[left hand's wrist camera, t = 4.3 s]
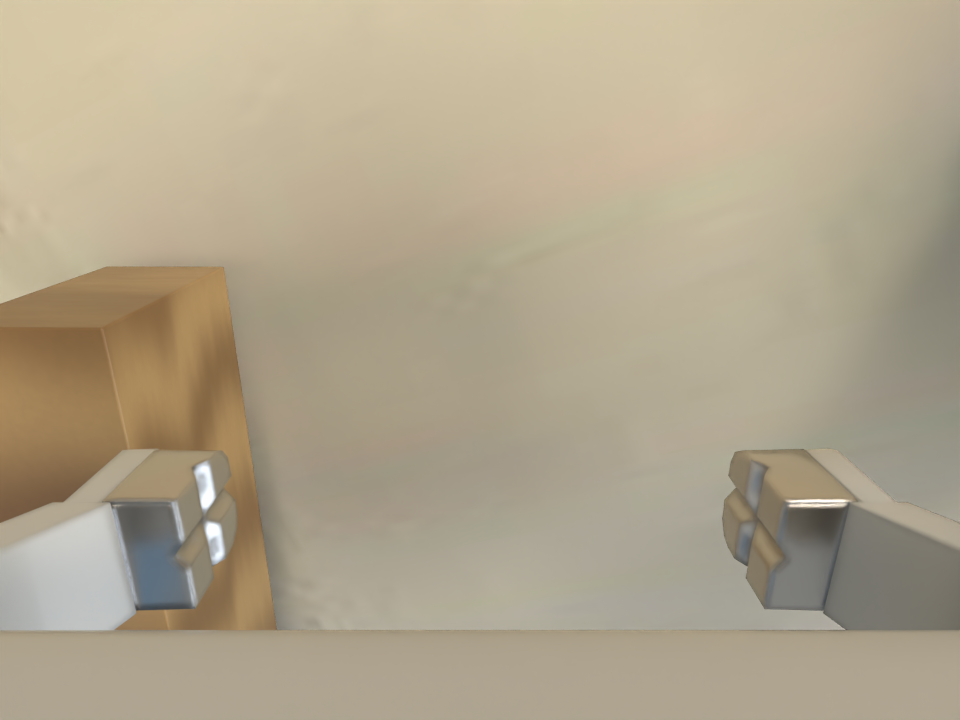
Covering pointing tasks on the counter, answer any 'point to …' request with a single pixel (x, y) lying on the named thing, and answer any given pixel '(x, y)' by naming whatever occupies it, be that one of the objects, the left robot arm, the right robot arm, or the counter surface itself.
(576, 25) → the counter surface
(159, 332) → the bar
